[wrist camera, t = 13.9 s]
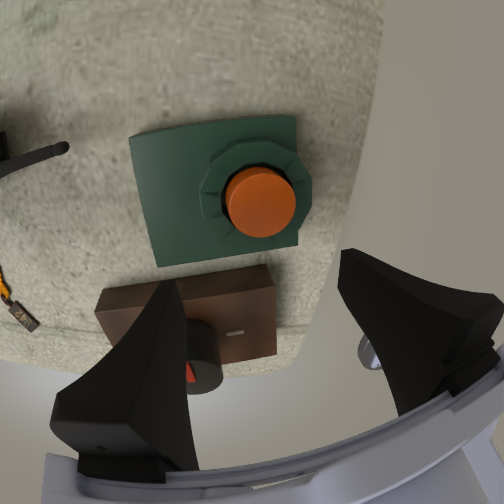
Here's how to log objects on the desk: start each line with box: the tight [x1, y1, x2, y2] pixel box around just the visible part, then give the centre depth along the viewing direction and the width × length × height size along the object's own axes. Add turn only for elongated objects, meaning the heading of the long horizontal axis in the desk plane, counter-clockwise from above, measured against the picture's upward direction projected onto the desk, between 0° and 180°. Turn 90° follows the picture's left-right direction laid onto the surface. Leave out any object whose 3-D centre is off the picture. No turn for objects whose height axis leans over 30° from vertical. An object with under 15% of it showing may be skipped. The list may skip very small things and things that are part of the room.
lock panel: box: [94, 264, 277, 364], centre depth 22 cm, size 14×9×3 cm, turn 94°
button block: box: [129, 115, 312, 268], centre depth 17 cm, size 10×9×4 cm
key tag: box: [0, 272, 39, 332], centre depth 19 cm, size 8×3×1 cm, turn 15°
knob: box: [186, 320, 223, 395], centre depth 19 cm, size 4×4×4 cm
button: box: [226, 167, 296, 237], centre depth 15 cm, size 4×4×2 cm
